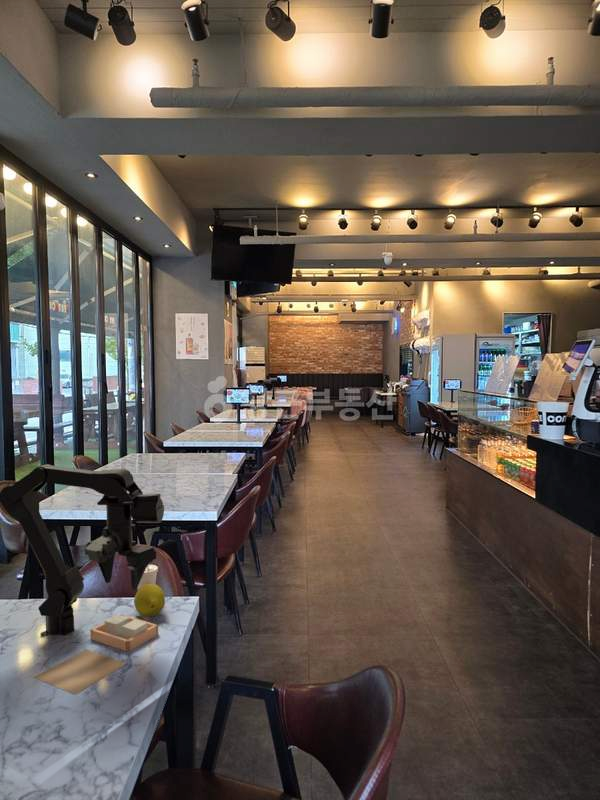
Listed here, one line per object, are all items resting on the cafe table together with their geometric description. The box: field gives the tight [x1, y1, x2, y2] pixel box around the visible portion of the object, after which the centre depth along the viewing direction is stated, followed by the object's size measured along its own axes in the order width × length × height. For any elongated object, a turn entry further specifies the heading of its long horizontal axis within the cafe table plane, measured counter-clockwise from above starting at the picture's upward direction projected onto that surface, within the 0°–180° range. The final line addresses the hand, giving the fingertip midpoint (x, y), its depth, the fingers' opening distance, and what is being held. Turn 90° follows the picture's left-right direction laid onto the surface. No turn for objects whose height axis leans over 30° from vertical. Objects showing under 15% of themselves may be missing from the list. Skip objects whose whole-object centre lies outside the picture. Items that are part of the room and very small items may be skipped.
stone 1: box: [103, 614, 130, 638], centre depth 130 cm, size 4×4×4 cm
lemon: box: [133, 584, 166, 618], centre depth 142 cm, size 11×8×8 cm
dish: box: [89, 614, 159, 652], centre depth 129 cm, size 12×9×3 cm
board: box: [33, 649, 128, 696], centre depth 114 cm, size 13×13×1 cm
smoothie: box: [137, 563, 159, 591], centre depth 150 cm, size 6×6×14 cm
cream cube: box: [121, 620, 147, 640], centre depth 127 cm, size 4×4×4 cm
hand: (121, 585), depth 131 cm, fingers open, 9 cm apart
